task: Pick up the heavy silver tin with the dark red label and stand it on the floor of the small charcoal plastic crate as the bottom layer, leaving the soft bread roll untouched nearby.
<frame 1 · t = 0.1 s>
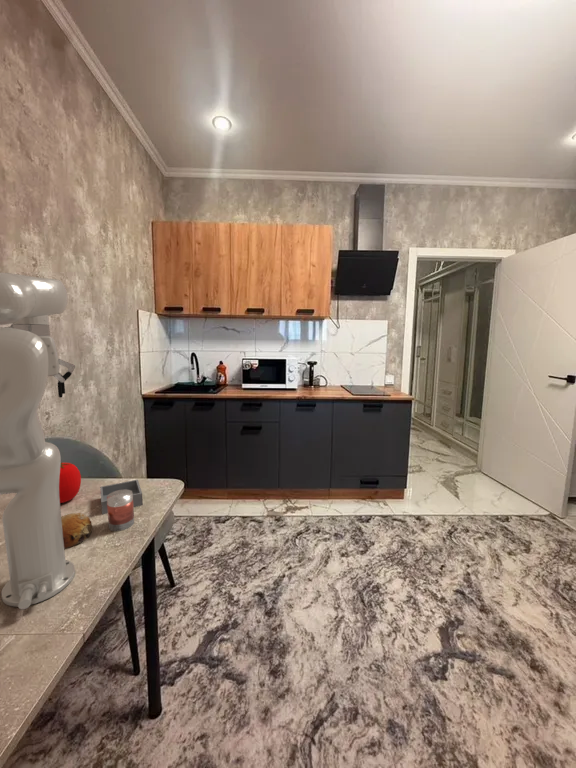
hand: (38, 398, 86), 37 cm above the table, tool pointing down, fingers open, 9 cm apart
tomato: (62, 500, 106), on the table
tin: (121, 524, 93), on the table
bread roll: (71, 538, 87), on the table
crate: (121, 501, 106), on the table
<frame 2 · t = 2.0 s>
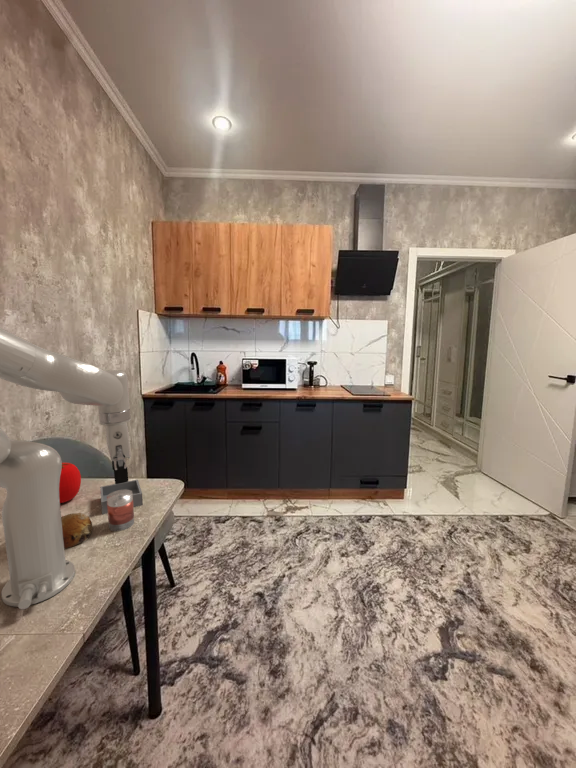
hand: (120, 475, 92), 14 cm above the table, tool pointing down, fingers open, 9 cm apart
nothing on the table moved.
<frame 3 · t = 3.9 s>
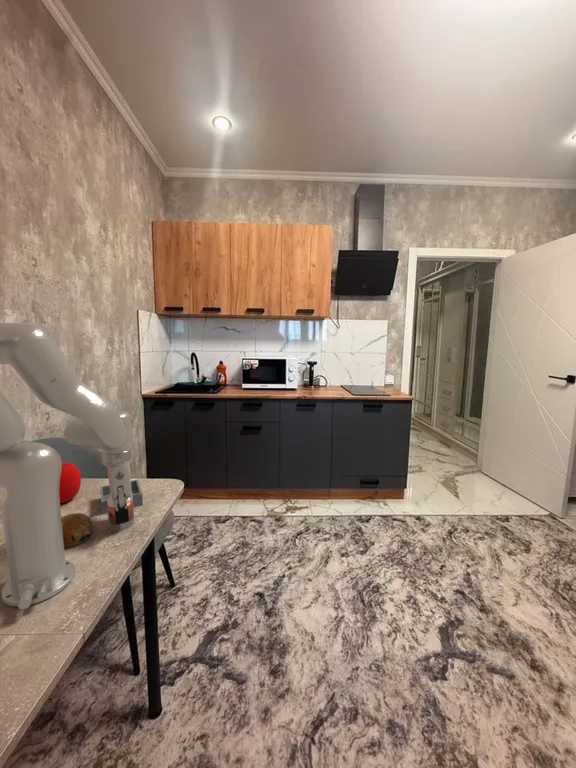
hand: (121, 515, 93), 3 cm above the table, tool pointing down, fingers closed on tin, 6 cm apart
tin: (121, 524, 93), on the table, touching gripper
everything else where it was.
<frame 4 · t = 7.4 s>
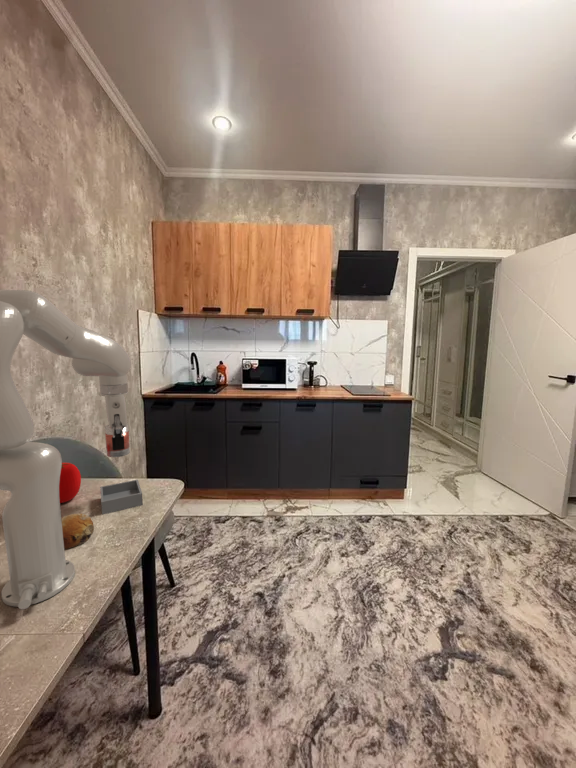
hand: (117, 445, 103), 19 cm above the table, tool pointing down, fingers closed on tin, 6 cm apart
tin: (118, 453, 103), point 16 cm above the table, touching gripper
everything else where it was.
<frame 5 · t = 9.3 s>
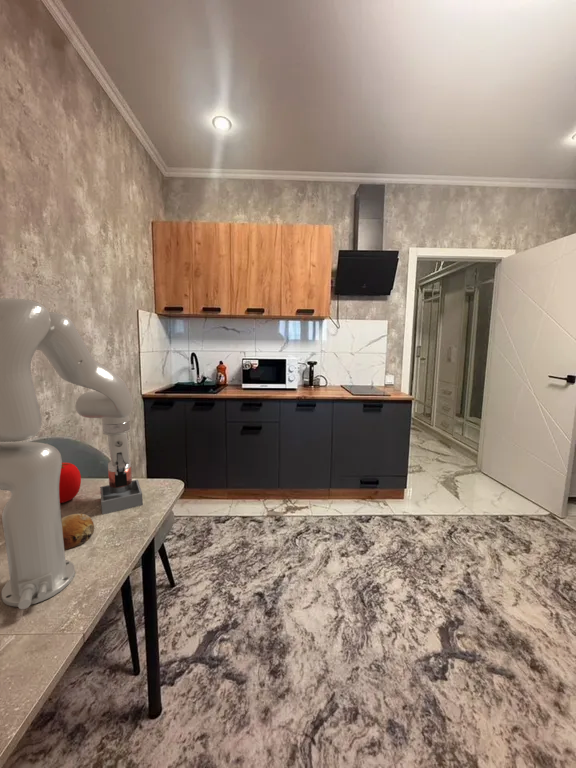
hand: (120, 480, 105), 7 cm above the table, tool pointing down, fingers closed on tin, 6 cm apart
tin: (121, 488, 105), point 4 cm above the table, touching gripper
everything else where it was.
when the fingers open (5 cm above the table, at t = 10.7 s): tin drops 1 cm, resting on crate.
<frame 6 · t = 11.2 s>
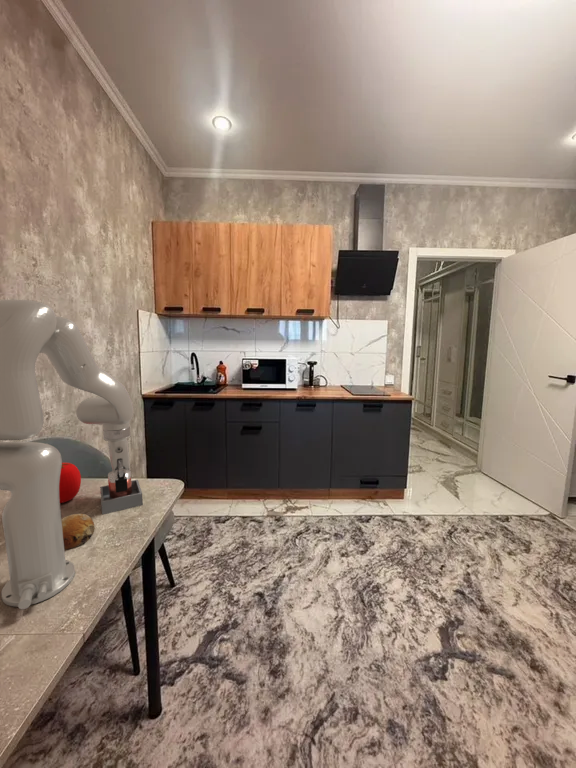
hand: (120, 484, 105), 6 cm above the table, tool pointing down, fingers open, 9 cm apart
tin: (121, 499, 105), point 1 cm above the table, touching crate
everything else where it was.
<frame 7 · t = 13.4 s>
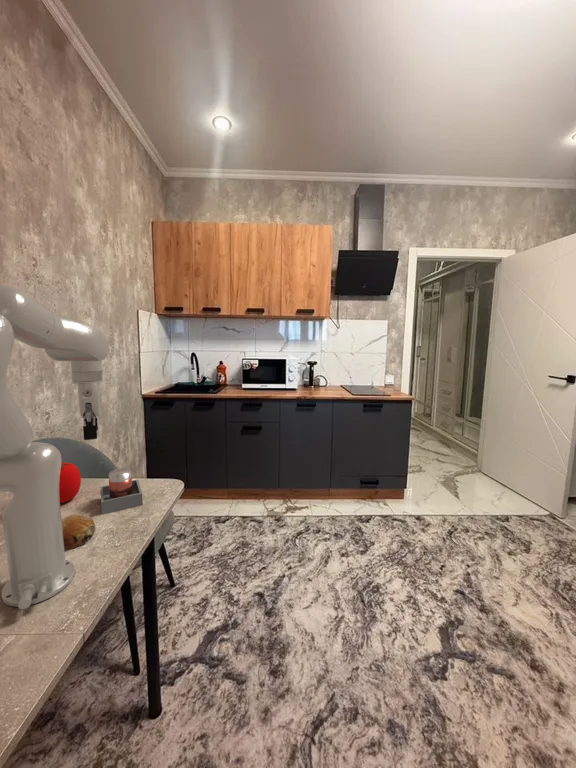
hand: (91, 434, 97), 24 cm above the table, tool pointing down, fingers open, 9 cm apart
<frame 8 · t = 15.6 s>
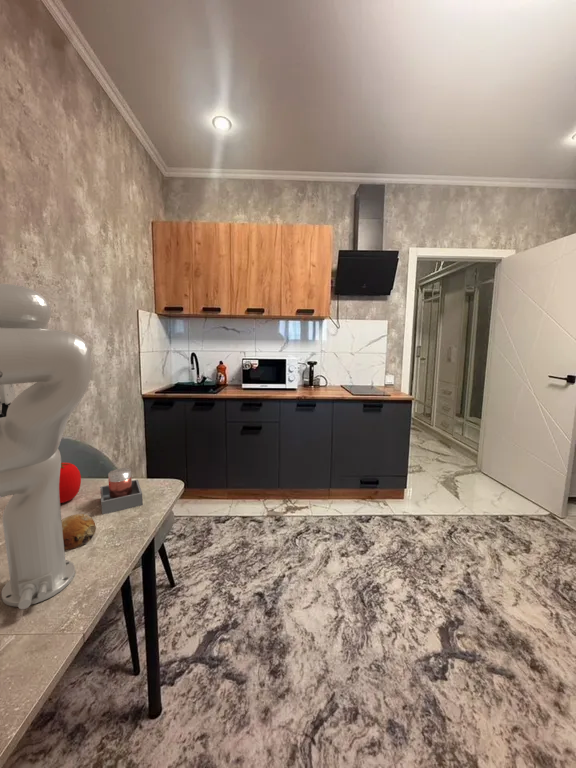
hand: (1, 425, 83), 30 cm above the table, tool pointing down, fingers open, 9 cm apart
at the end: tin 0.3 cm off-centre on the crate, point 1.1 cm above the crate's base; tin tilted 1°; bread roll moved 1.5 cm from its start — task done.
